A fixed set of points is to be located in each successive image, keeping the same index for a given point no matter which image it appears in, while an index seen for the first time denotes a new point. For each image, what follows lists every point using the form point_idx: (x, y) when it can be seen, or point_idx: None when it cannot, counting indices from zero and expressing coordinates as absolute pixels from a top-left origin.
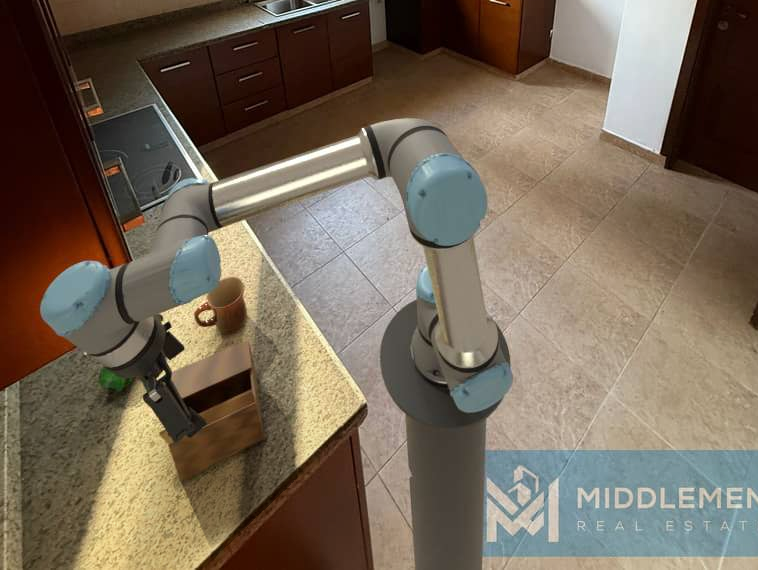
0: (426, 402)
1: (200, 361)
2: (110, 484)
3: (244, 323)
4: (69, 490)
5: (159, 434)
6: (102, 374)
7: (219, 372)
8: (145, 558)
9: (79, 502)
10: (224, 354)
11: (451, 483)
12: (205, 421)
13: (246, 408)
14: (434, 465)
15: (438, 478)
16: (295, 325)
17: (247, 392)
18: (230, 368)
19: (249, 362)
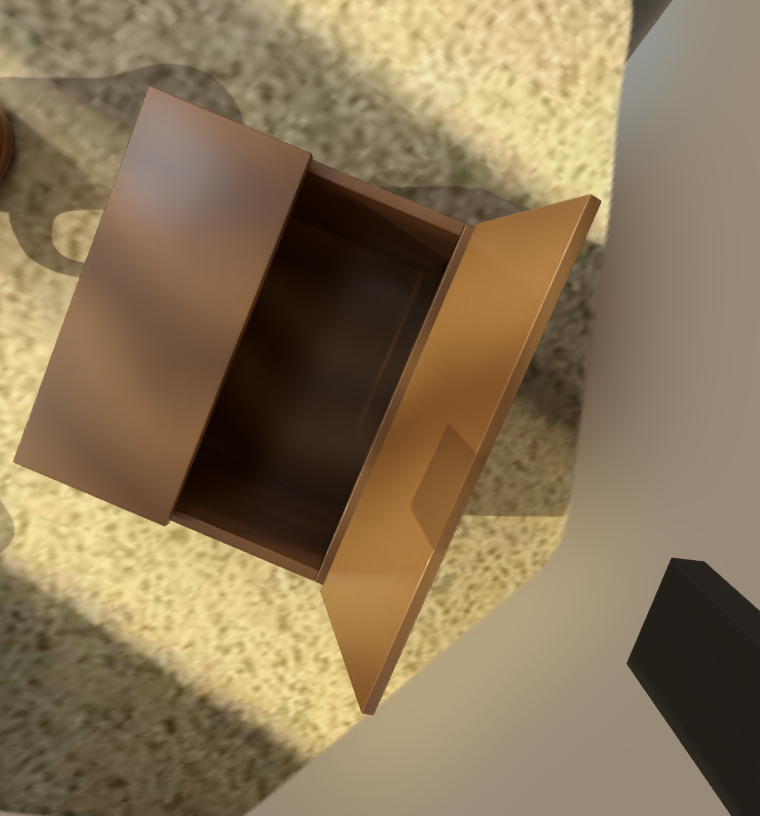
0: None
1: (69, 334)
2: (195, 656)
3: (2, 108)
4: (121, 737)
5: (372, 713)
6: None
7: (204, 289)
8: (445, 642)
9: (175, 726)
10: (130, 225)
11: (647, 31)
12: (695, 567)
13: None
14: (640, 19)
15: (628, 42)
16: None
17: (585, 225)
18: (228, 238)
19: (278, 147)
